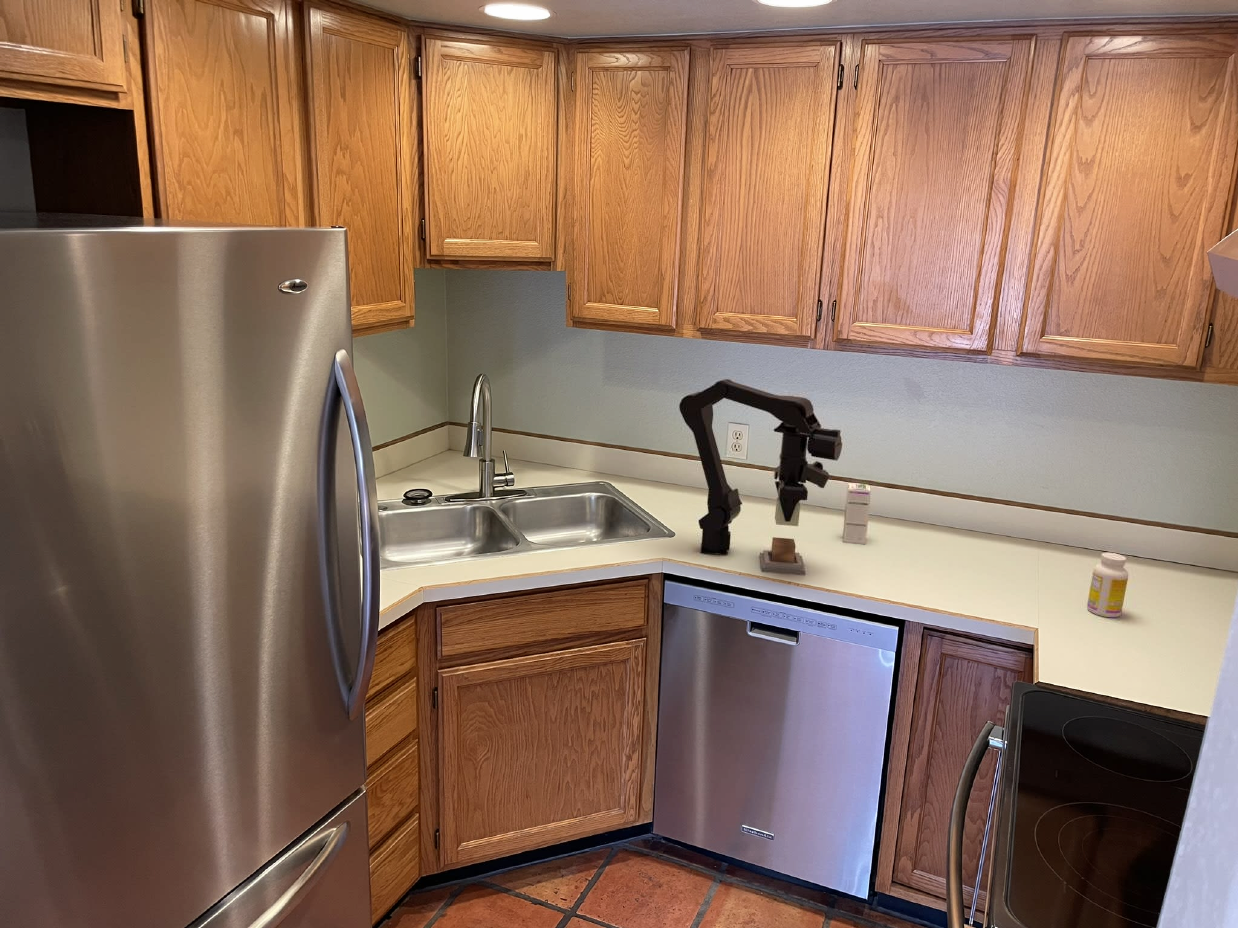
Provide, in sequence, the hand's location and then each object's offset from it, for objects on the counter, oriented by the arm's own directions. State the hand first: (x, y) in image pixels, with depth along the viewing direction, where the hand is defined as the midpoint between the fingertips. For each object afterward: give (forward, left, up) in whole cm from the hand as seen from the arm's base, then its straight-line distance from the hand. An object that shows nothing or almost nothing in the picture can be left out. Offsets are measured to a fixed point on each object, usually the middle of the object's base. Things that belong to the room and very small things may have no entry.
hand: (786, 517), depth 213 cm
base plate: (0, 0, -12) cm, 12 cm away
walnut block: (0, 0, -11) cm, 11 cm away
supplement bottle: (+68, -13, -12) cm, 70 cm away
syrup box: (+20, +23, -12) cm, 33 cm away
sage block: (0, 0, -1) cm, 1 cm away
